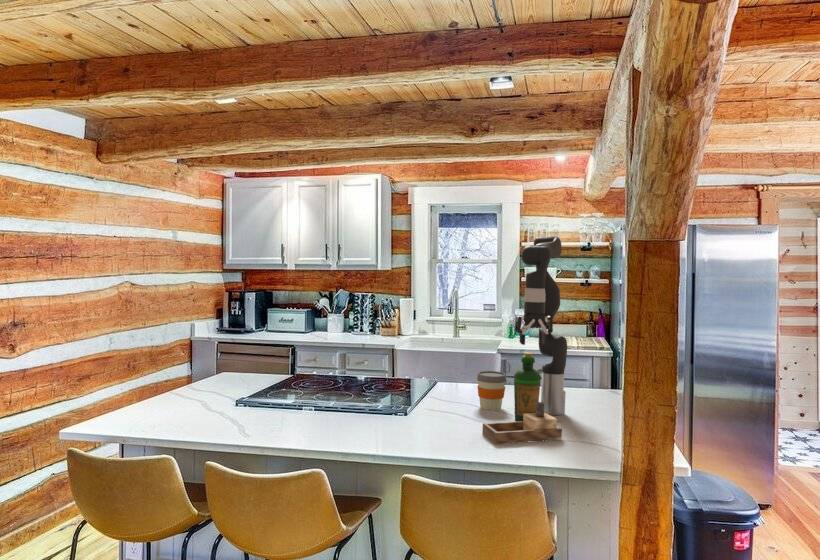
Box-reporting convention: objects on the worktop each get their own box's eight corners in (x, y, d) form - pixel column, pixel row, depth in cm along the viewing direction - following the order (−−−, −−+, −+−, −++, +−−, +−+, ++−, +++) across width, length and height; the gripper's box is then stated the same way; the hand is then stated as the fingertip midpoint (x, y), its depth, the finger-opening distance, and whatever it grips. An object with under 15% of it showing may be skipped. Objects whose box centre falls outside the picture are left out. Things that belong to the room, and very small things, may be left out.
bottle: (523, 427, 232) (526, 356, 230) (506, 420, 241) (509, 351, 240) (545, 424, 236) (547, 354, 235) (527, 417, 246) (530, 350, 245)
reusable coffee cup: (492, 413, 252) (493, 377, 251) (470, 406, 261) (471, 373, 260) (511, 408, 260) (512, 374, 259) (489, 402, 269) (490, 369, 269)
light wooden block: (544, 428, 227) (545, 399, 227) (556, 435, 218) (557, 405, 218) (522, 429, 225) (523, 400, 224) (533, 436, 216) (534, 406, 216)
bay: (545, 430, 229) (545, 419, 229) (561, 439, 217) (562, 429, 217) (482, 433, 222) (482, 423, 222) (495, 444, 210) (495, 433, 210)
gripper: (547, 299, 225) (545, 342, 226) (512, 299, 221) (511, 343, 222) (557, 301, 218) (555, 345, 218) (521, 301, 214) (520, 346, 215)
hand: (533, 344), depth 220 cm, fingers open, 8 cm apart
